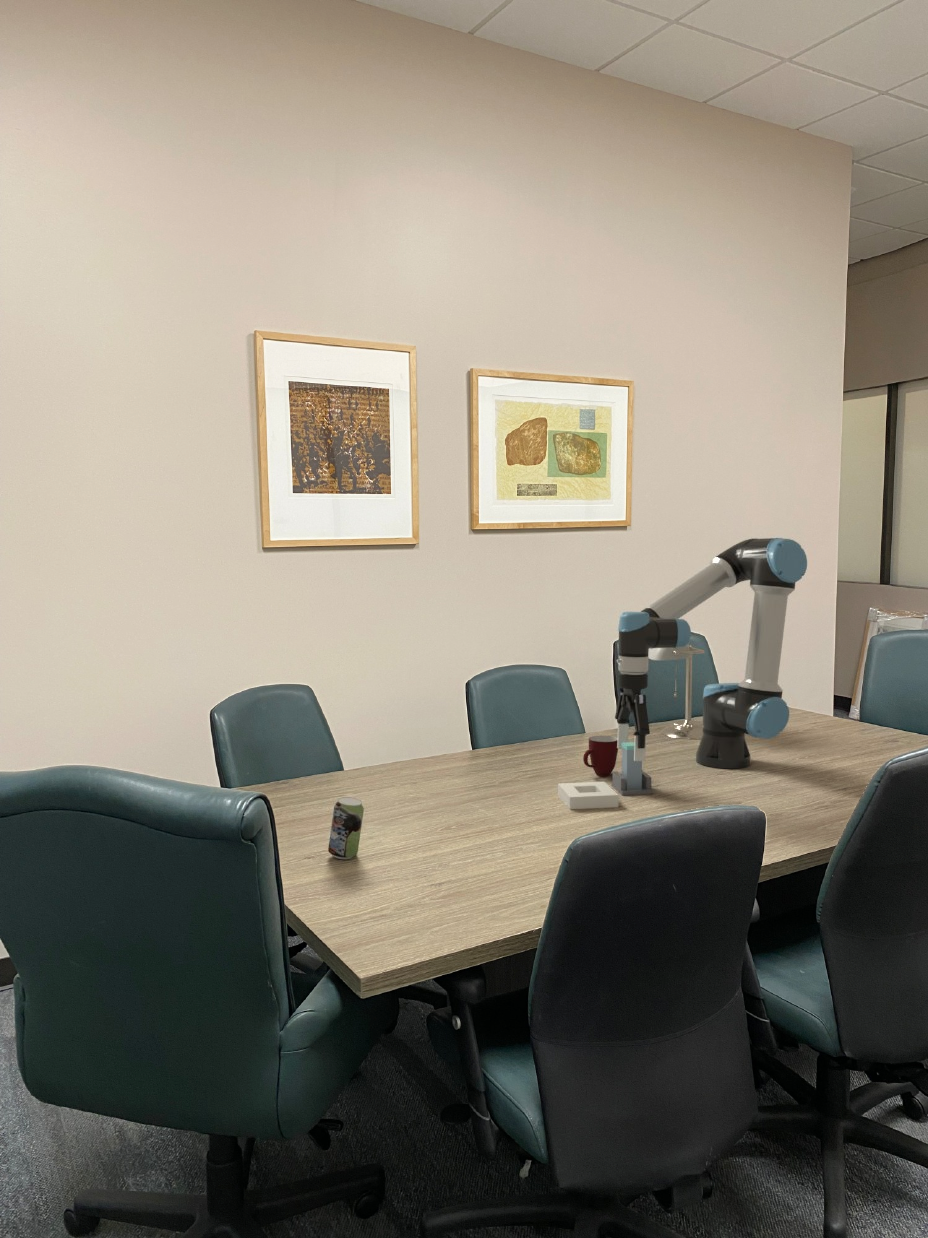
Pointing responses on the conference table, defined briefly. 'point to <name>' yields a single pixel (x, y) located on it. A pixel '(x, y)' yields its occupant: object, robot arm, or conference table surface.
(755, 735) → the robot arm
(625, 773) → the plug
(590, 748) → the mug
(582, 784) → the frame
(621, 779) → the holster
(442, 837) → the conference table surface
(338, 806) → the beverage can
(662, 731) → the lamp
